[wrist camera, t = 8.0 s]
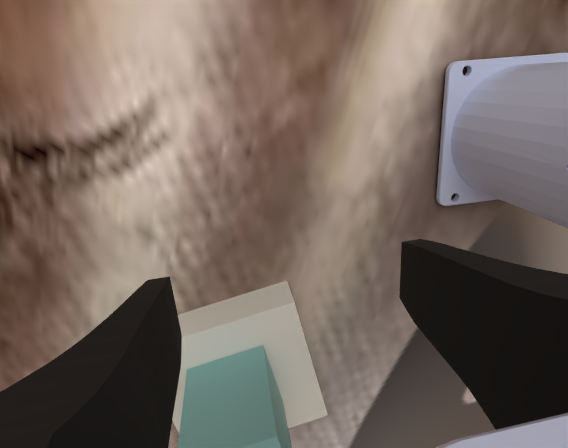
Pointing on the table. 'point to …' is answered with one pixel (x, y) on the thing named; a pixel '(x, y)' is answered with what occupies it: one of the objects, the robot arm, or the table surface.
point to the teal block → (233, 404)
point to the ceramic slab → (253, 333)
